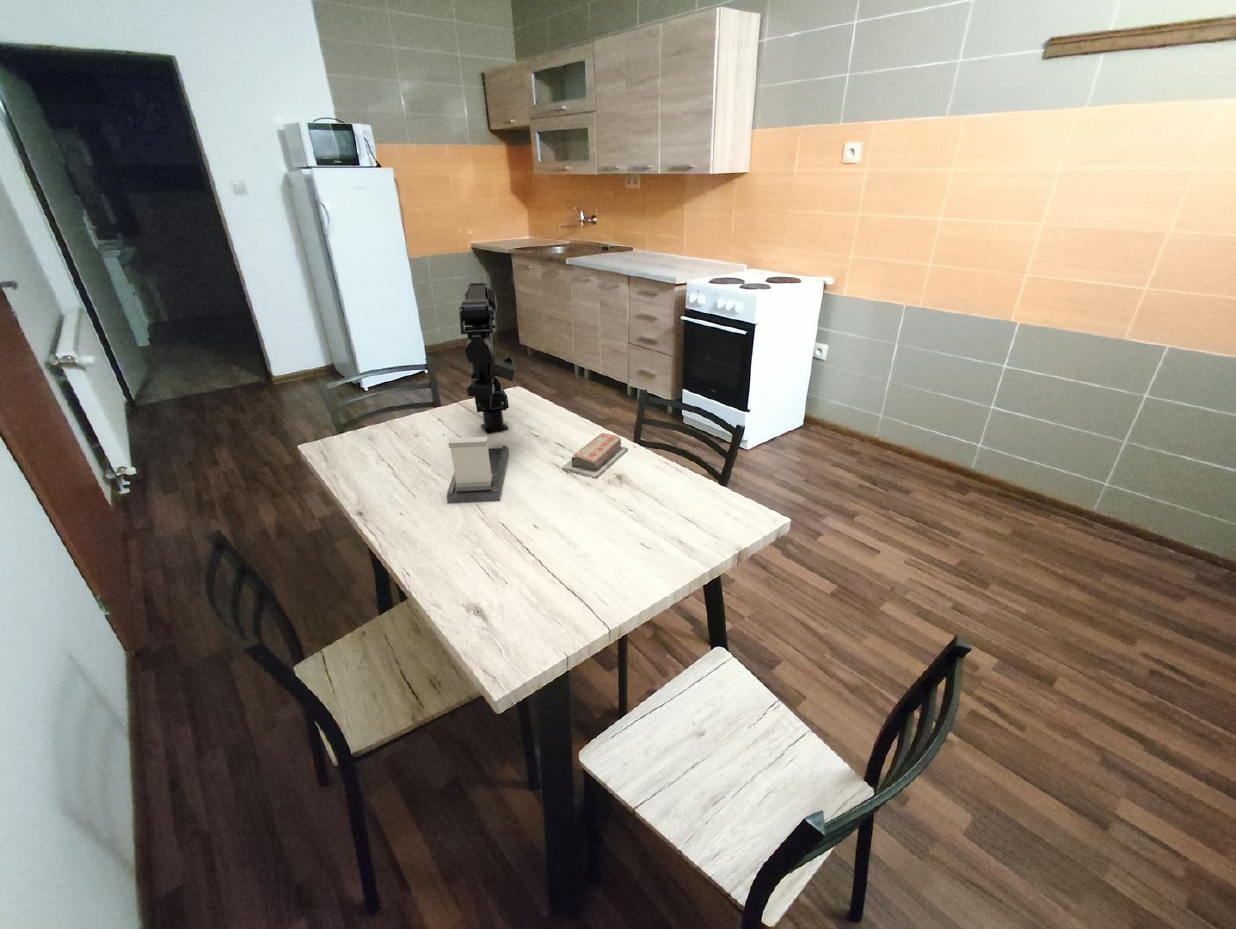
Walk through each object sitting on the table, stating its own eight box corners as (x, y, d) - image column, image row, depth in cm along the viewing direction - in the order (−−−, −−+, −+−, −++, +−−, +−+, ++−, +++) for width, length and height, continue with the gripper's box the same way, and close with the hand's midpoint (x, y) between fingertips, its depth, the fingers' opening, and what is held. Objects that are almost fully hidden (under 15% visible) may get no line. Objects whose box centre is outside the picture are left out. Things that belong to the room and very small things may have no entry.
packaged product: (596, 429, 157) (628, 435, 153) (596, 444, 159) (628, 451, 155) (561, 455, 143) (595, 463, 139) (562, 472, 145) (596, 480, 141)
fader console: (464, 456, 153) (462, 447, 151) (509, 454, 154) (508, 445, 152) (447, 503, 132) (445, 492, 130) (499, 500, 132) (498, 490, 131)
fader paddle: (458, 480, 136) (451, 436, 131) (494, 479, 137) (488, 434, 131) (455, 491, 132) (447, 445, 126) (491, 489, 132) (485, 443, 127)
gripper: (509, 362, 135) (515, 422, 143) (516, 341, 152) (521, 395, 159) (462, 363, 135) (471, 424, 142) (474, 342, 151) (481, 397, 158)
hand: (488, 409), depth 150 cm, fingers closed
